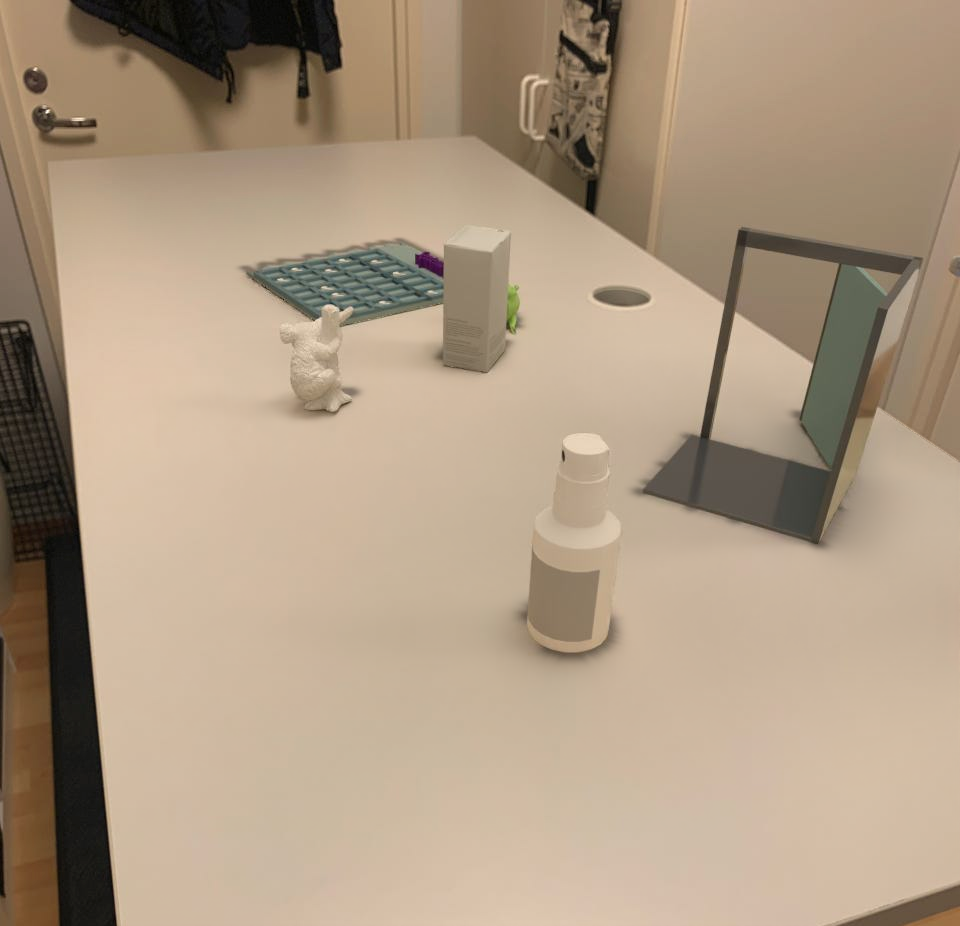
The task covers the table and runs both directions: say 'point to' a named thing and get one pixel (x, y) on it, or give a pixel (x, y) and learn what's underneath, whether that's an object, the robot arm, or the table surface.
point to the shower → (768, 479)
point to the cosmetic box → (475, 297)
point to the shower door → (840, 356)
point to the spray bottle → (575, 552)
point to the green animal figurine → (512, 306)
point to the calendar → (359, 282)
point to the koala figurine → (317, 359)
